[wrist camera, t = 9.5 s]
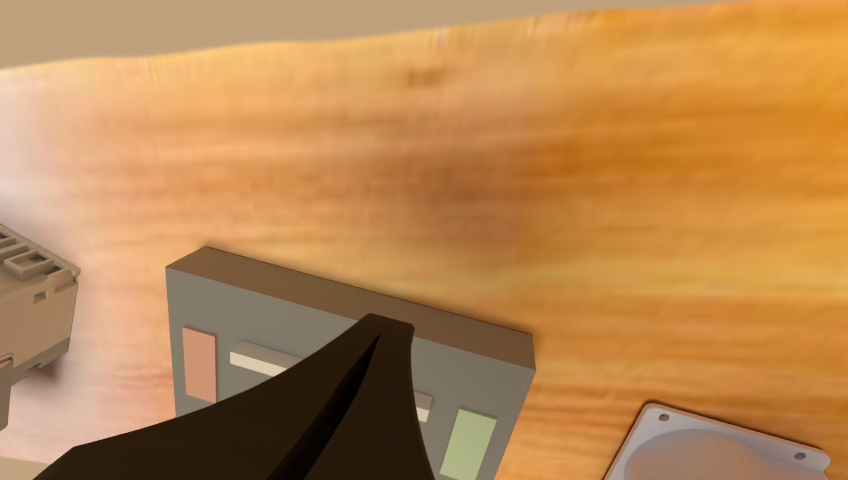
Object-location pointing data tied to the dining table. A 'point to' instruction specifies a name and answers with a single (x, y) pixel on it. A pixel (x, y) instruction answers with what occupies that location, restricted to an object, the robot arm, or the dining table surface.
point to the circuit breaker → (31, 310)
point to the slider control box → (324, 321)
